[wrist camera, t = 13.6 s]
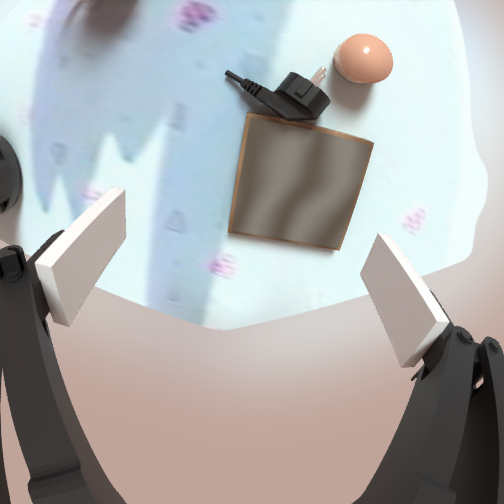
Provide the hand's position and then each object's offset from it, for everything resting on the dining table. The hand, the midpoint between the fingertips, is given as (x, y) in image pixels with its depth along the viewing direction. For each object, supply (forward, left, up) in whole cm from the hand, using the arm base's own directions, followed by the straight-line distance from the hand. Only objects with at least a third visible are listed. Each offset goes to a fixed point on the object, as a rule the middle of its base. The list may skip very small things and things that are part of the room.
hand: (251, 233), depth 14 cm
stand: (+6, -4, -24) cm, 25 cm away
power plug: (-4, +11, -24) cm, 26 cm away
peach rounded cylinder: (+10, +14, -24) cm, 29 cm away
